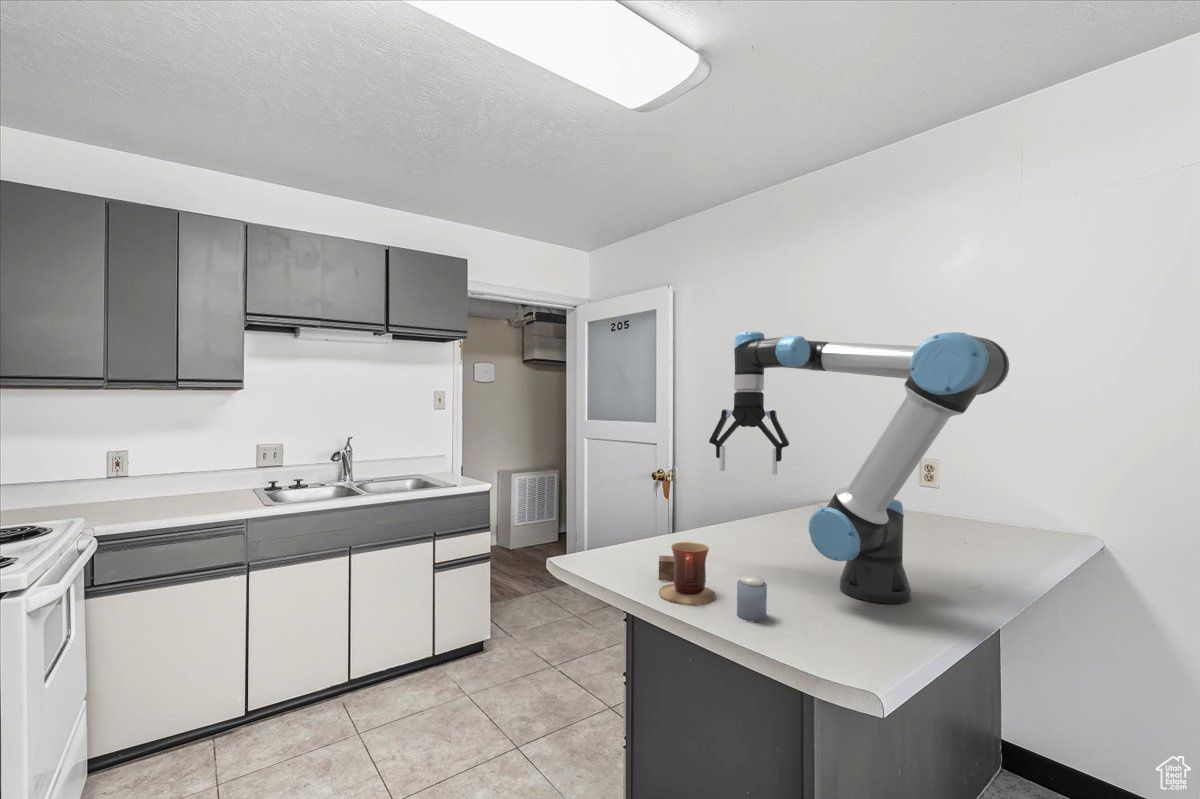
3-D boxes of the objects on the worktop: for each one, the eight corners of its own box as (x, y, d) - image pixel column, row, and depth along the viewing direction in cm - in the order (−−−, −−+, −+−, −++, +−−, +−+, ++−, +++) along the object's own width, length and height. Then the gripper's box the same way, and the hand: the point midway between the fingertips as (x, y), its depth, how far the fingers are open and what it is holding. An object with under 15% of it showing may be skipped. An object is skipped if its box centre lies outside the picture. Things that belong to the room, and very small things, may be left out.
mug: (672, 582, 136) (672, 540, 136) (708, 585, 134) (709, 543, 134) (668, 599, 124) (668, 553, 124) (708, 603, 122) (708, 556, 122)
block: (678, 575, 144) (678, 556, 144) (678, 581, 139) (679, 561, 139) (659, 574, 144) (659, 555, 144) (658, 580, 139) (658, 560, 139)
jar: (768, 614, 118) (769, 576, 118) (763, 624, 112) (764, 584, 113) (740, 609, 121) (740, 572, 121) (733, 618, 115) (734, 580, 115)
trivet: (721, 591, 132) (721, 588, 132) (706, 609, 120) (706, 606, 120) (669, 582, 138) (669, 580, 138) (650, 598, 126) (650, 596, 126)
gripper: (800, 391, 144) (799, 474, 143) (706, 391, 155) (705, 467, 154) (797, 391, 137) (796, 477, 137) (698, 391, 148) (697, 470, 148)
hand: (747, 472), depth 146 cm, fingers open, 13 cm apart
